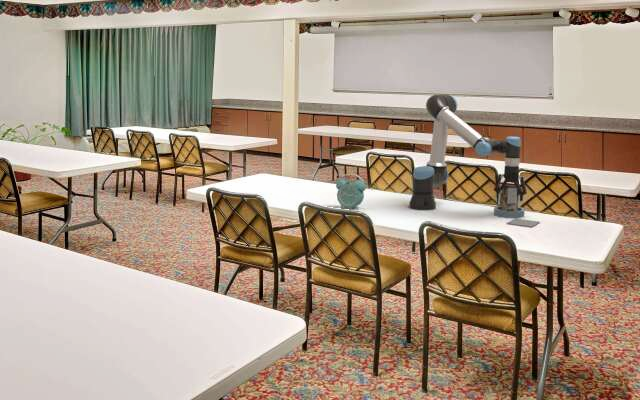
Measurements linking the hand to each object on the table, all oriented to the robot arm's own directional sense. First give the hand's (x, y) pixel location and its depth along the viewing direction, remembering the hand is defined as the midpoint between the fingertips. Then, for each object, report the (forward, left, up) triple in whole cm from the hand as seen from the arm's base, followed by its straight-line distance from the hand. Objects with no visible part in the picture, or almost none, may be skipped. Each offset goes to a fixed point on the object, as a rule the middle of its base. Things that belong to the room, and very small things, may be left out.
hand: (509, 205), depth 338 cm
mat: (+13, -15, -5) cm, 21 cm away
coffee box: (0, 0, -5) cm, 5 cm away
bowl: (0, 0, -5) cm, 5 cm away
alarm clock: (-80, -37, -6) cm, 88 cm away
